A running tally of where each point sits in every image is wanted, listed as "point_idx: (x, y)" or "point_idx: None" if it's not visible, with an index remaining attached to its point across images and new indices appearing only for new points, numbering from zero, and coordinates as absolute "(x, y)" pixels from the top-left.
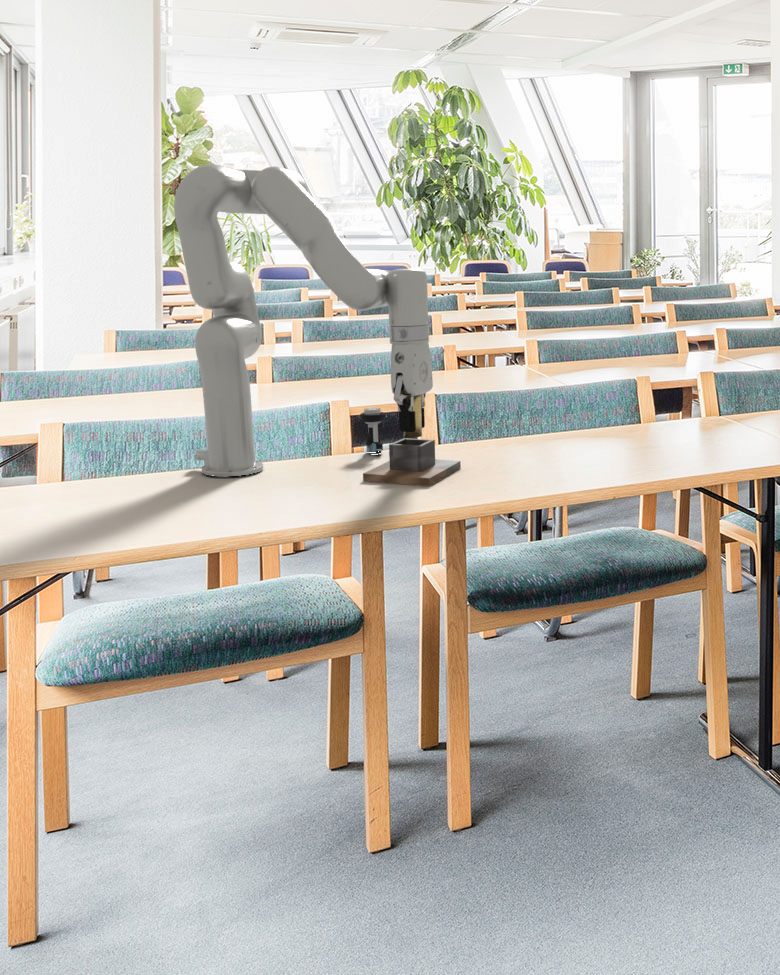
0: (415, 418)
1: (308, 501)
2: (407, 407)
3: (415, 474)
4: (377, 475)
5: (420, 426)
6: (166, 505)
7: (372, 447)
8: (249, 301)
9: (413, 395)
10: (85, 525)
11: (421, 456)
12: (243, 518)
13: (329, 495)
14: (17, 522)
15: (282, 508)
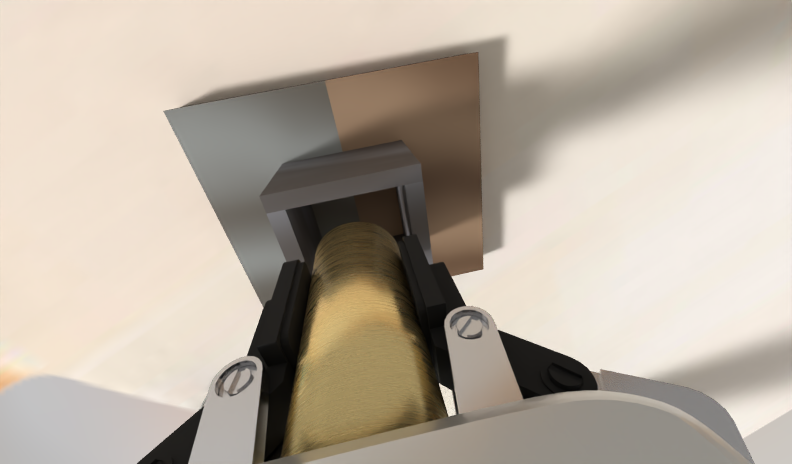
0: (395, 283)
1: (669, 237)
2: (508, 343)
3: (444, 135)
4: (481, 231)
5: (356, 246)
6: (695, 378)
7: None
8: None
9: (622, 393)
10: (789, 373)
11: (409, 153)
12: (787, 250)
13: (617, 234)
14: (763, 422)
15: (722, 241)
